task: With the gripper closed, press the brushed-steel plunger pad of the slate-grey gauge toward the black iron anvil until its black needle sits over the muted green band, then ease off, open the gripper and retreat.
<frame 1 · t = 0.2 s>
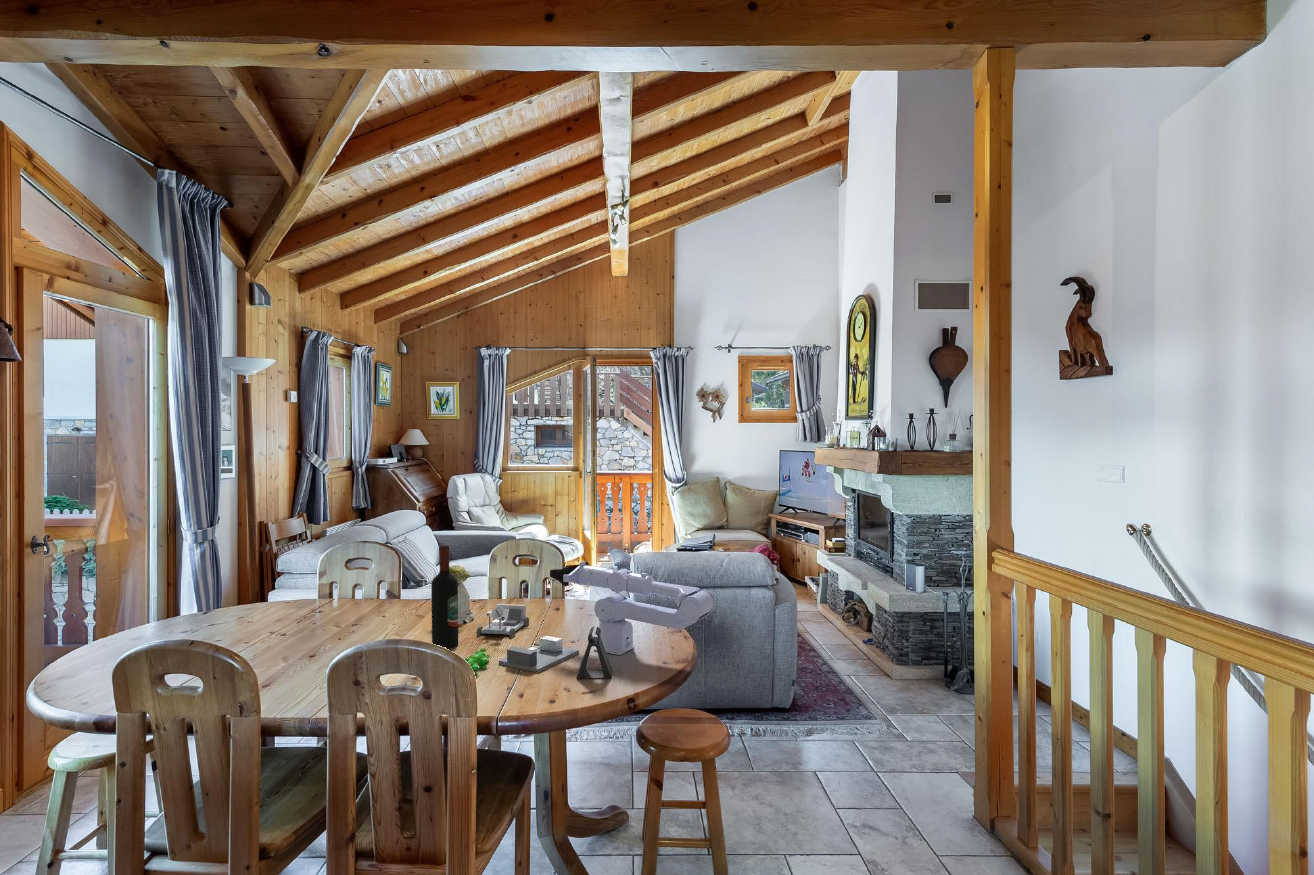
hand: (558, 571, 213), 21 cm above the table, tool horizontal, fingers open, 7 cm apart
wine bottle: (445, 646, 207), on the table
phone stand: (594, 675, 183), on the table
gauge base: (539, 658, 196), on the table
plunger: (546, 643, 201), point 3 cm above the table, slide at 0.0 cm
toy car: (502, 633, 223), on the table
crocodile figurine: (472, 671, 187), on the table
yellow-capped mushroom figurine: (455, 620, 236), on the table
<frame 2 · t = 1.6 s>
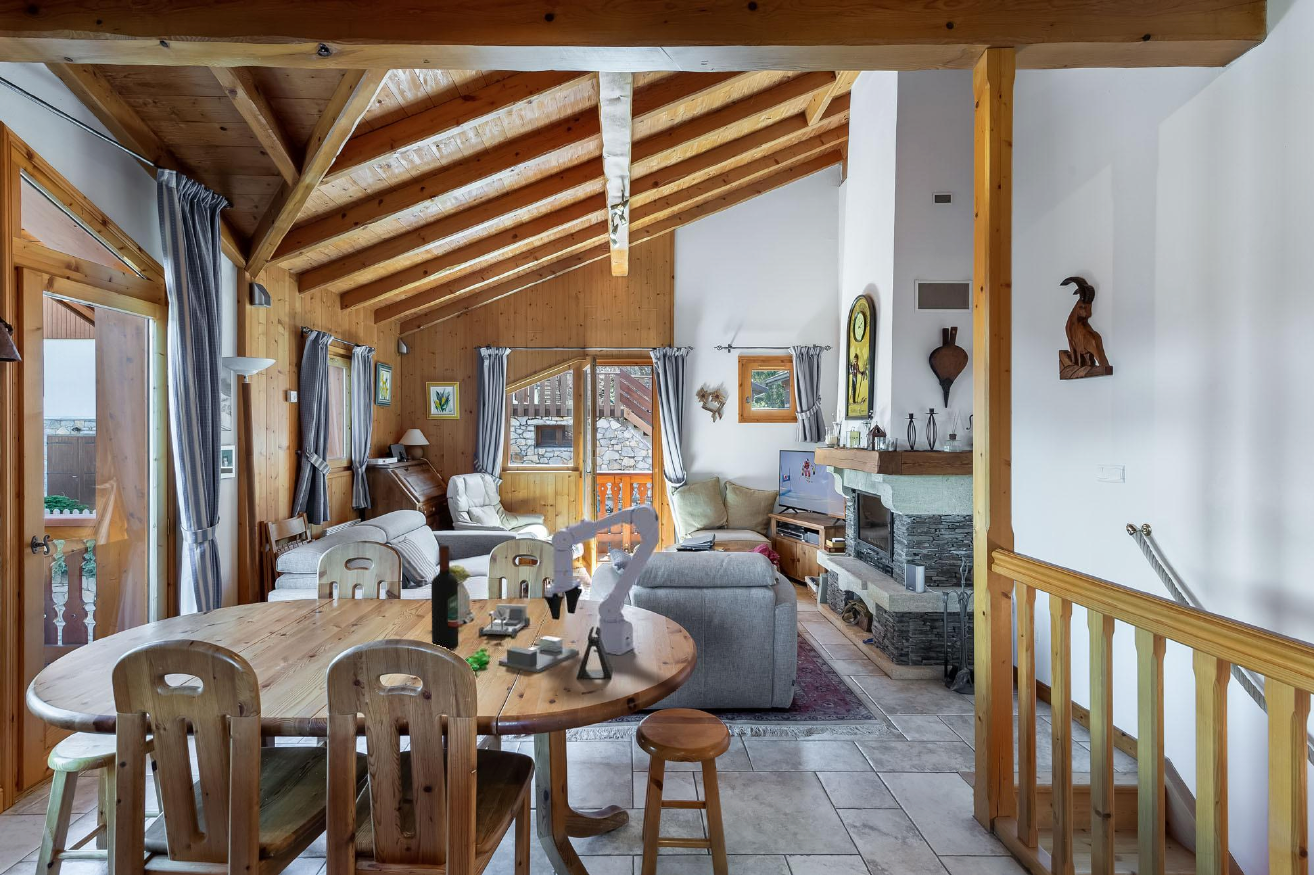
hand: (563, 616, 205), 9 cm above the table, tool pointing down, fingers open, 7 cm apart
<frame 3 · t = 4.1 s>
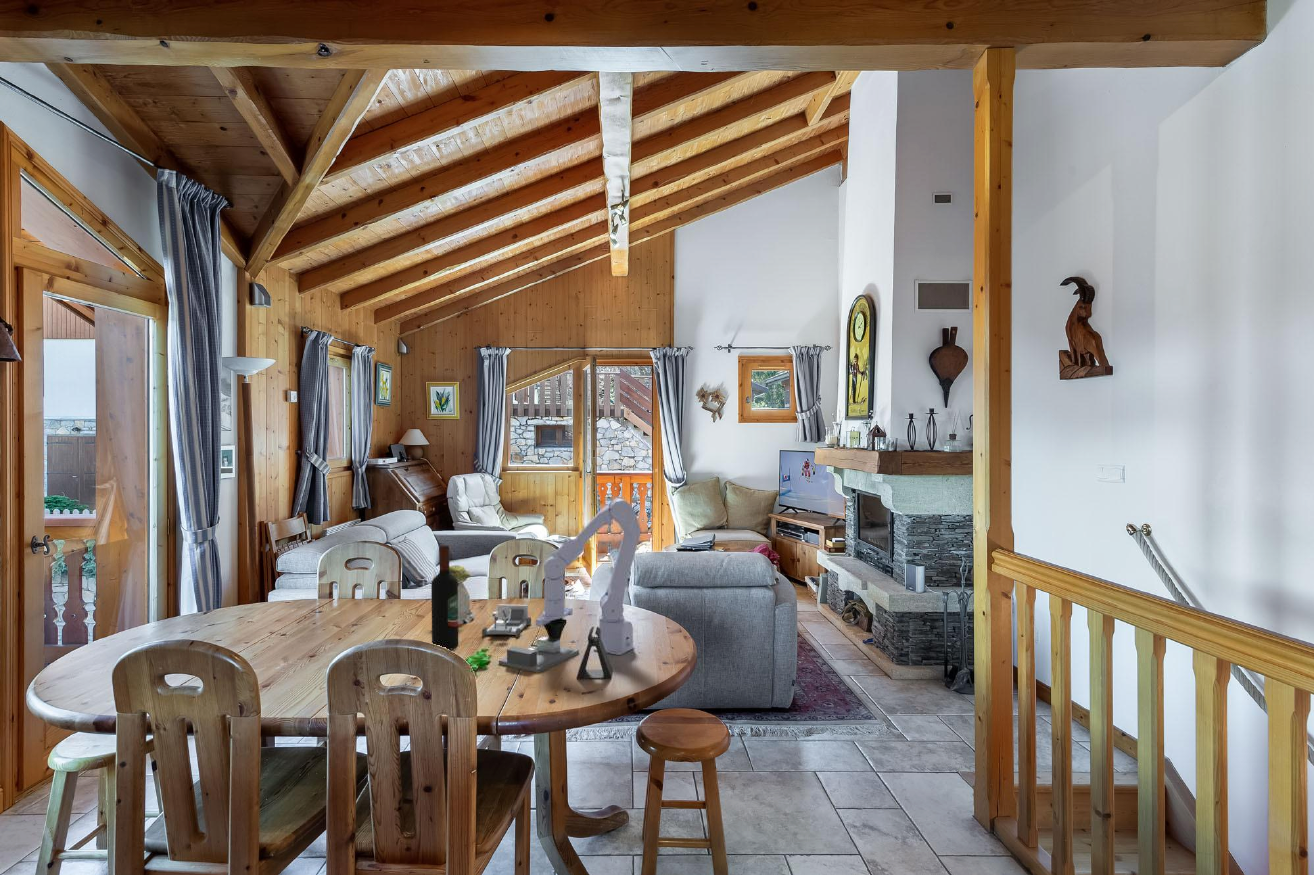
hand: (554, 645, 202), 2 cm above the table, tool pointing down, fingers closed
plunger: (544, 644, 200), point 3 cm above the table, slide at 1.0 cm, touching gripper
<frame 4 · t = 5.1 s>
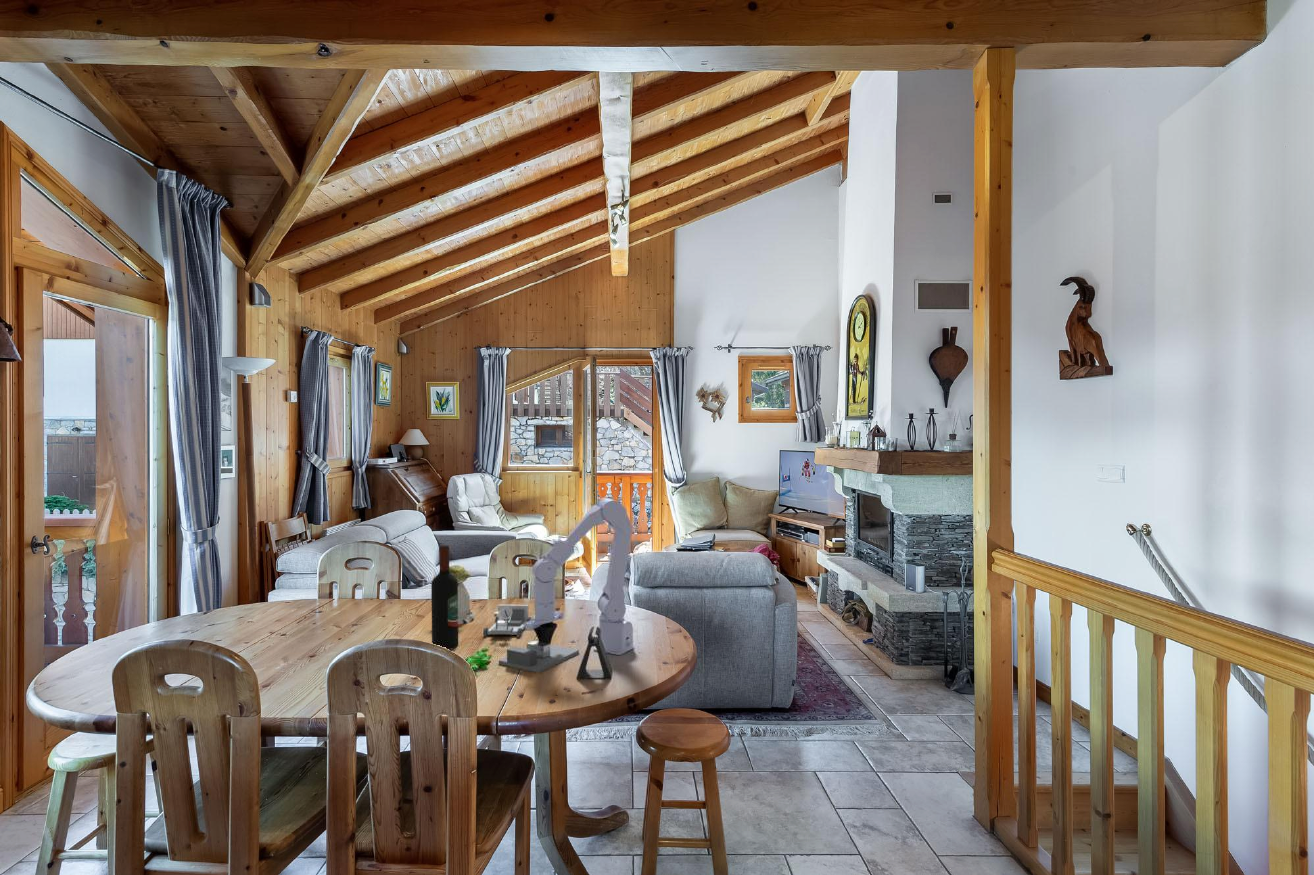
hand: (545, 649, 198), 2 cm above the table, tool pointing down, fingers closed
plunger: (534, 648, 196), point 3 cm above the table, slide at 5.5 cm, touching gripper
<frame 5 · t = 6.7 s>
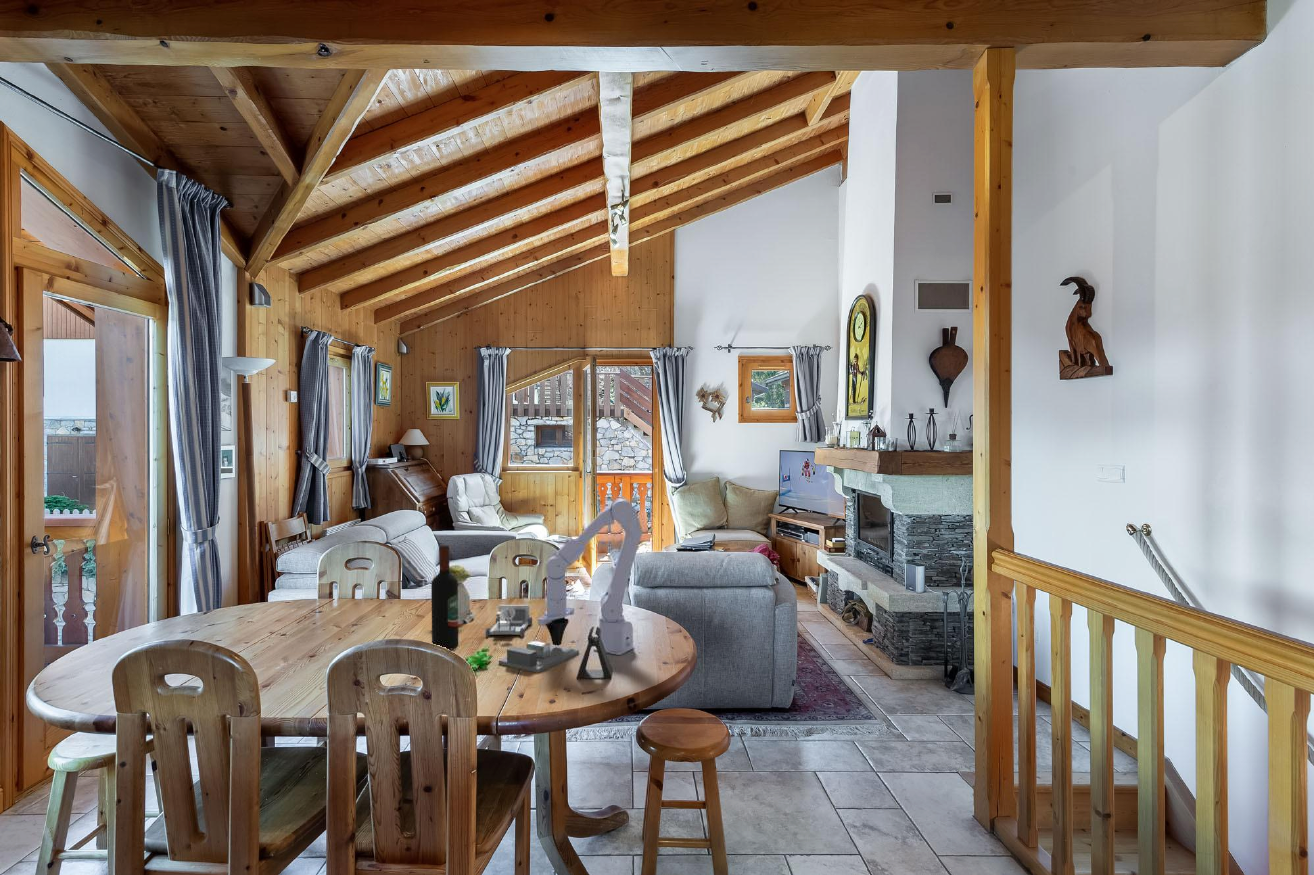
hand: (556, 644, 202), 2 cm above the table, tool pointing down, fingers closed
plunger: (534, 648, 196), point 3 cm above the table, slide at 5.5 cm
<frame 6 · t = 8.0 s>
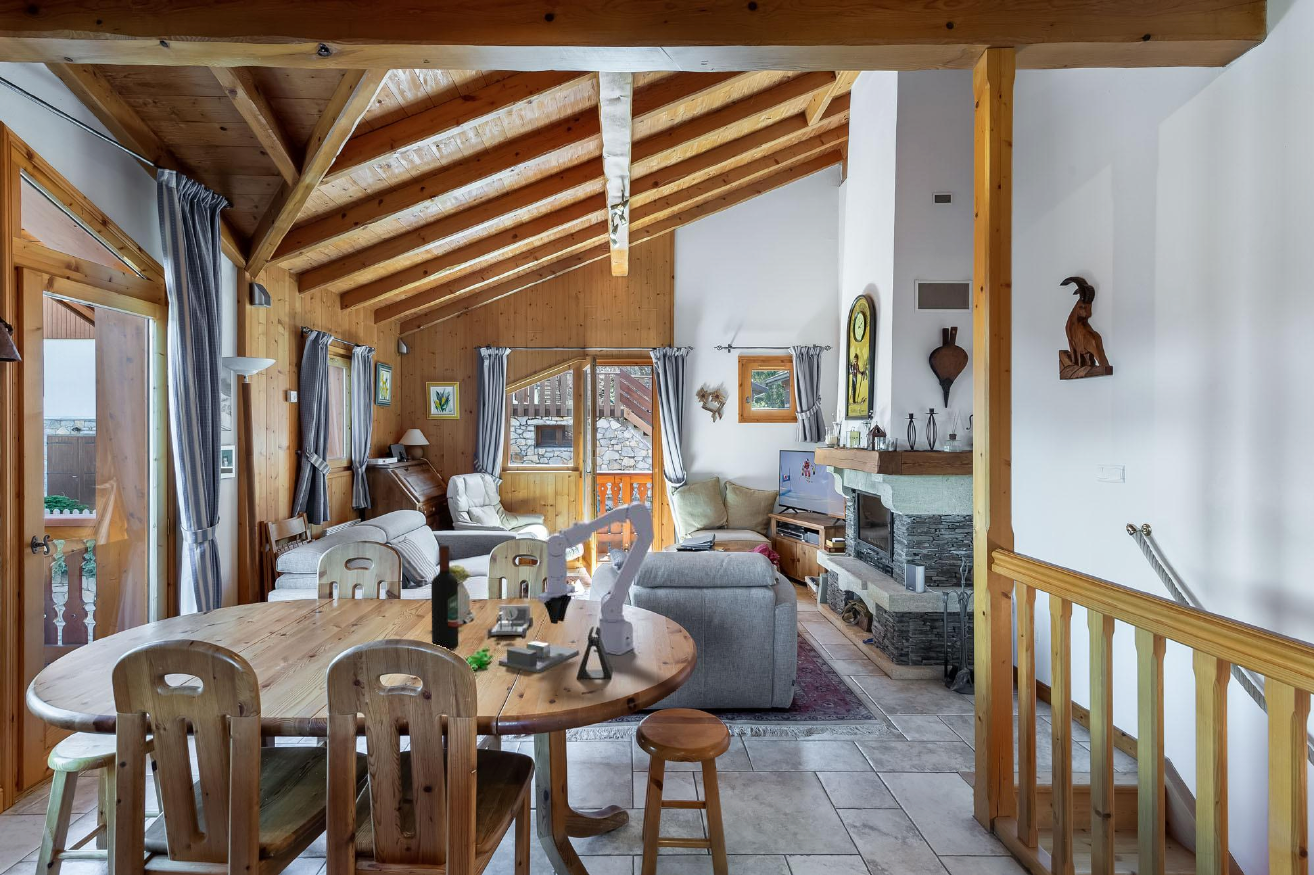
hand: (557, 622, 202), 8 cm above the table, tool pointing down, fingers closed
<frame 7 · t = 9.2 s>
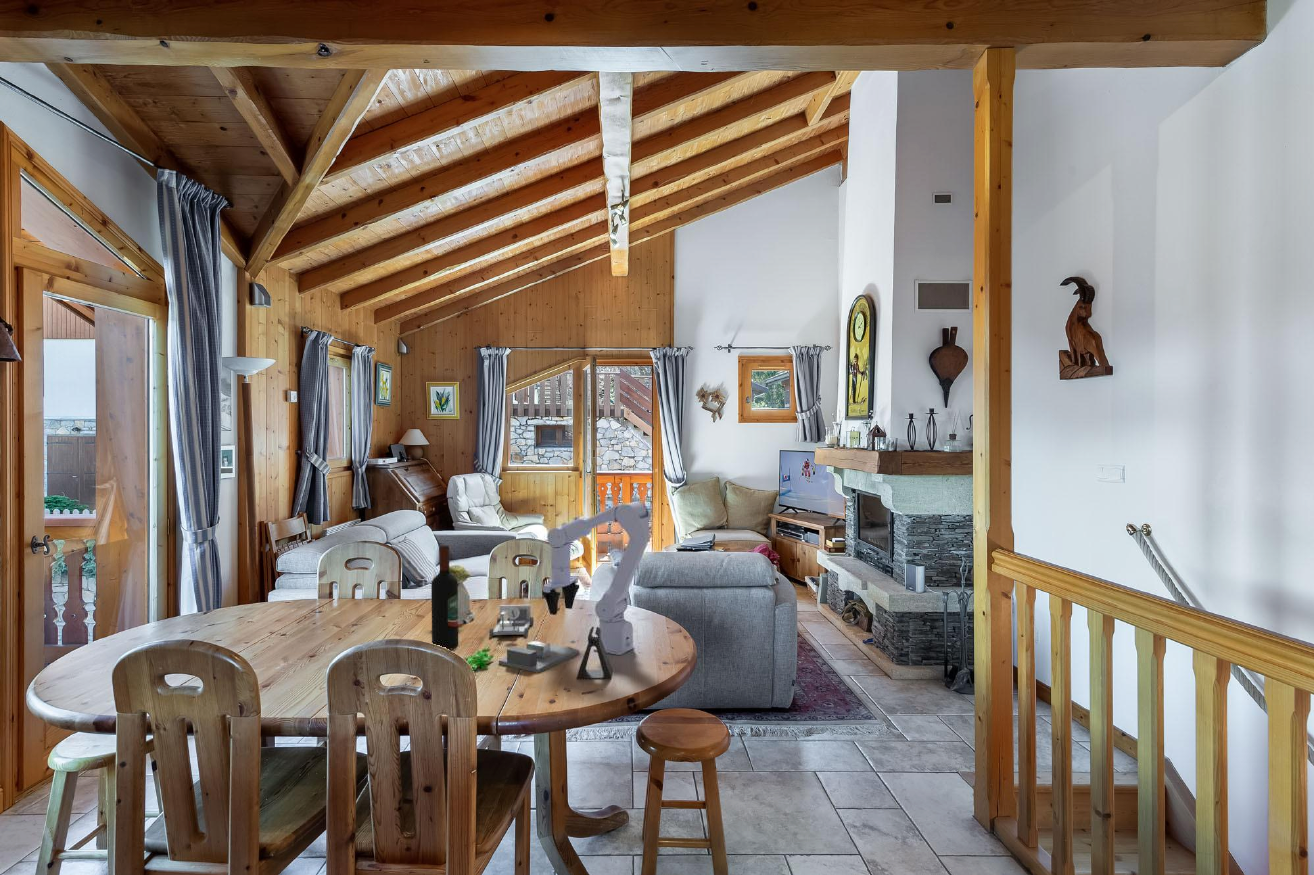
hand: (561, 611, 210), 9 cm above the table, tool pointing down, fingers open, 7 cm apart
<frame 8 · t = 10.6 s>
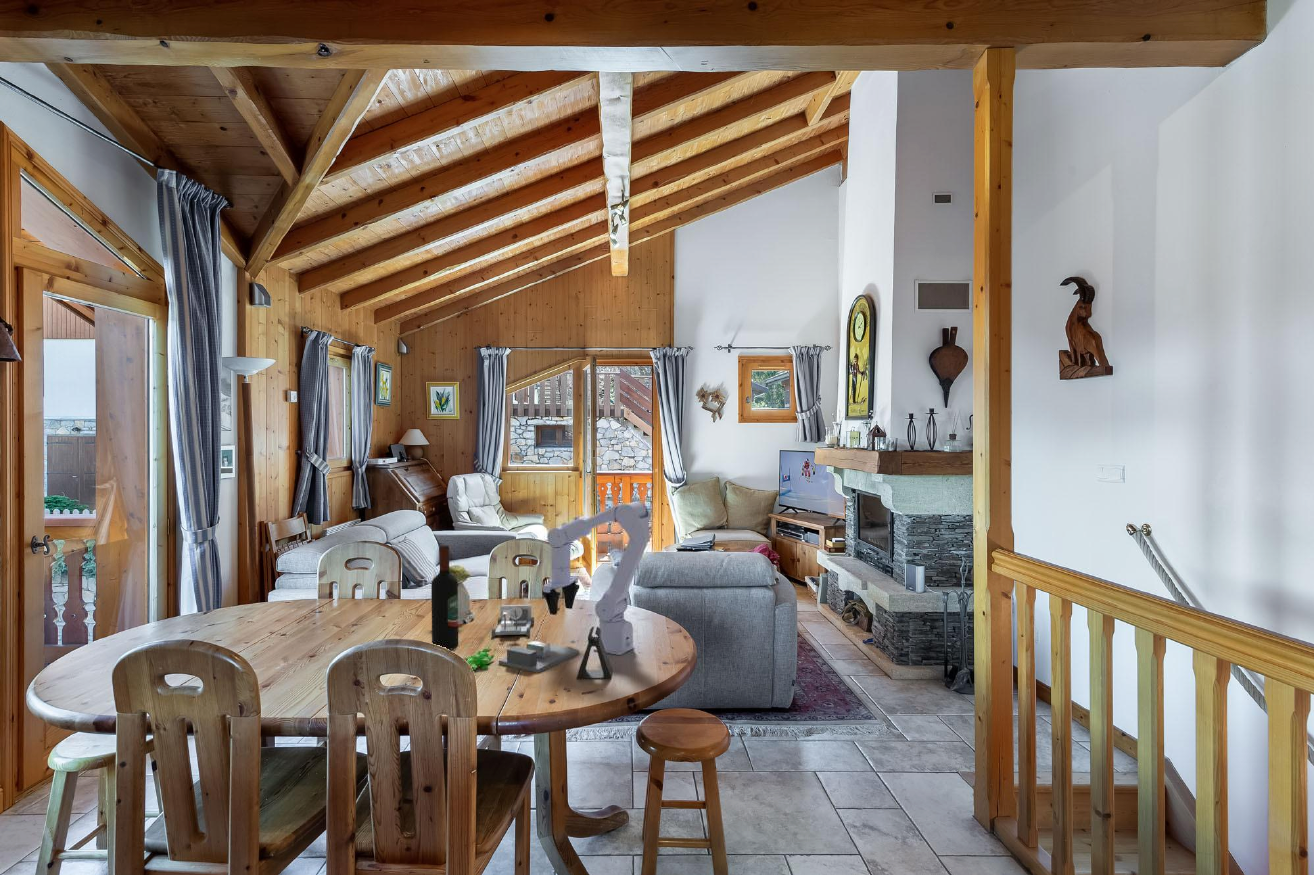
hand: (561, 611, 210), 9 cm above the table, tool pointing down, fingers open, 7 cm apart
at the end: plunger slide at 5.5 cm; the gripper is holding nothing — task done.
